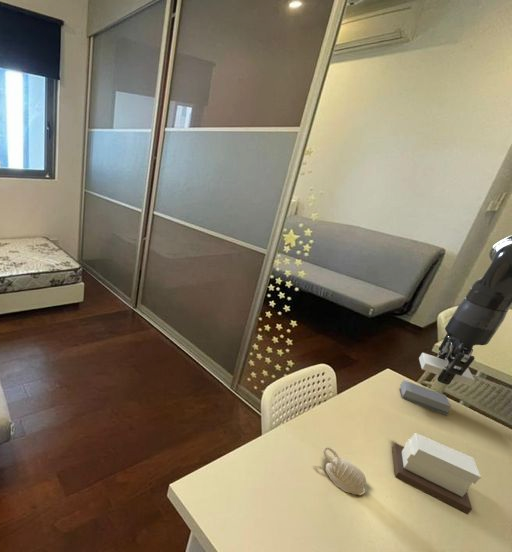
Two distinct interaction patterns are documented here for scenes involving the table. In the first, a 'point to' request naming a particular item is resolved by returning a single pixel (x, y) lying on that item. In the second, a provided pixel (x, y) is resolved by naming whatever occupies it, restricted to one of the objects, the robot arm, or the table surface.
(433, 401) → the blue-grey block
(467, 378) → the white rectangular block
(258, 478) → the table surface
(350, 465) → the decorative ornament
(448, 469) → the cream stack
